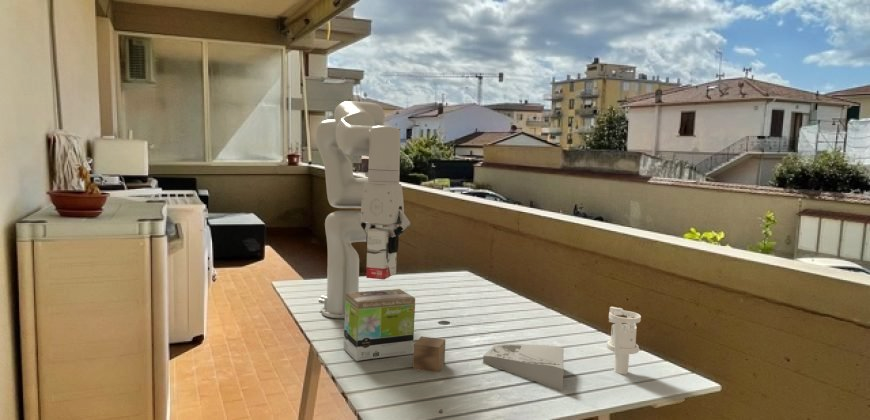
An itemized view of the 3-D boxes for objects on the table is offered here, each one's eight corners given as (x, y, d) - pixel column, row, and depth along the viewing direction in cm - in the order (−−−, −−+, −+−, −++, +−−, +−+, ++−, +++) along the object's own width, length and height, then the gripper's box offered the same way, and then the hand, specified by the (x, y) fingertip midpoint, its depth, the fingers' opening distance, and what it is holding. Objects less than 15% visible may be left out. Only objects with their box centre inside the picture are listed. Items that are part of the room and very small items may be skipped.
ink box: (384, 280, 132) (385, 231, 131) (365, 278, 134) (366, 229, 132) (396, 273, 140) (398, 227, 139) (378, 271, 142) (380, 226, 141)
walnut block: (413, 369, 128) (413, 344, 128) (420, 360, 134) (421, 336, 134) (438, 372, 127) (439, 347, 126) (444, 363, 133) (445, 339, 132)
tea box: (356, 363, 131) (357, 301, 130) (343, 349, 140) (344, 291, 138) (414, 354, 138) (416, 296, 137) (397, 342, 147) (399, 287, 145)
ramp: (467, 354, 140) (467, 333, 140) (518, 346, 148) (519, 326, 147) (535, 398, 116) (537, 373, 115) (593, 386, 123) (594, 362, 123)
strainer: (612, 363, 136) (616, 303, 135) (641, 371, 132) (645, 309, 130) (600, 371, 131) (604, 309, 129) (630, 380, 126) (634, 315, 125)
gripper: (346, 176, 136) (344, 249, 137) (405, 179, 127) (403, 257, 129) (364, 175, 142) (363, 245, 144) (422, 179, 134) (419, 253, 135)
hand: (382, 250), depth 136 cm, fingers closed on ink box, 5 cm apart
